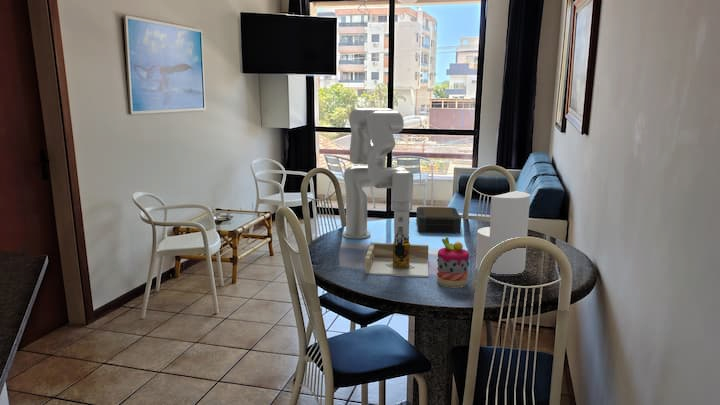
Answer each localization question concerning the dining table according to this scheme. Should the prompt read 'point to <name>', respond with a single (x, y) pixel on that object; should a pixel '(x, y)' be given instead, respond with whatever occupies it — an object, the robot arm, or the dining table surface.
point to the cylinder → (505, 231)
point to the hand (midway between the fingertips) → (400, 251)
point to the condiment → (401, 257)
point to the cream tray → (387, 252)
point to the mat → (417, 271)
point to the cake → (452, 265)
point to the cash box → (438, 220)
